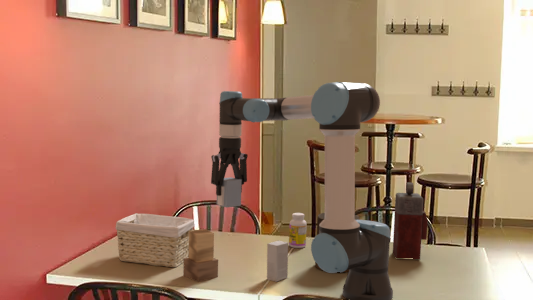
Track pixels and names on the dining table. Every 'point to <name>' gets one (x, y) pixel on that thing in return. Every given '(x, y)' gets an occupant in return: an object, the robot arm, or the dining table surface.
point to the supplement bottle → (297, 231)
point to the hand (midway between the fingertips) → (228, 203)
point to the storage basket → (154, 239)
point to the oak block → (201, 245)
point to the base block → (200, 269)
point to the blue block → (231, 192)
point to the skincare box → (277, 260)
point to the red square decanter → (409, 224)
